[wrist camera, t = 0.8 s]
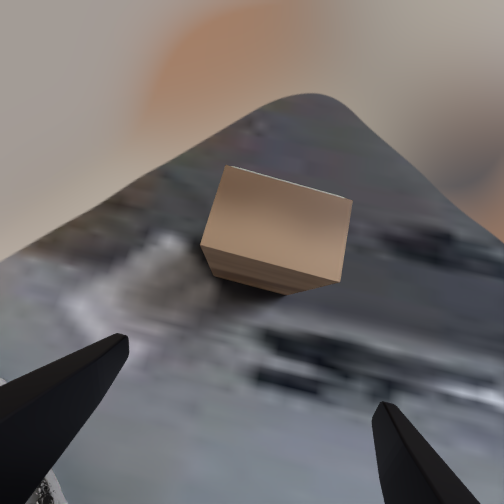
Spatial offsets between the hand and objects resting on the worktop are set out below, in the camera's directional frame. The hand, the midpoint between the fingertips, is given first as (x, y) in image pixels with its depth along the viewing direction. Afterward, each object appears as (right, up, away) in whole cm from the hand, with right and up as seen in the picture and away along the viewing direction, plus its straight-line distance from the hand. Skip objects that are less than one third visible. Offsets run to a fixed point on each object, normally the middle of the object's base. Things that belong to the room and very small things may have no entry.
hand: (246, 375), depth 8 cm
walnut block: (+1, +3, +14) cm, 15 cm away
